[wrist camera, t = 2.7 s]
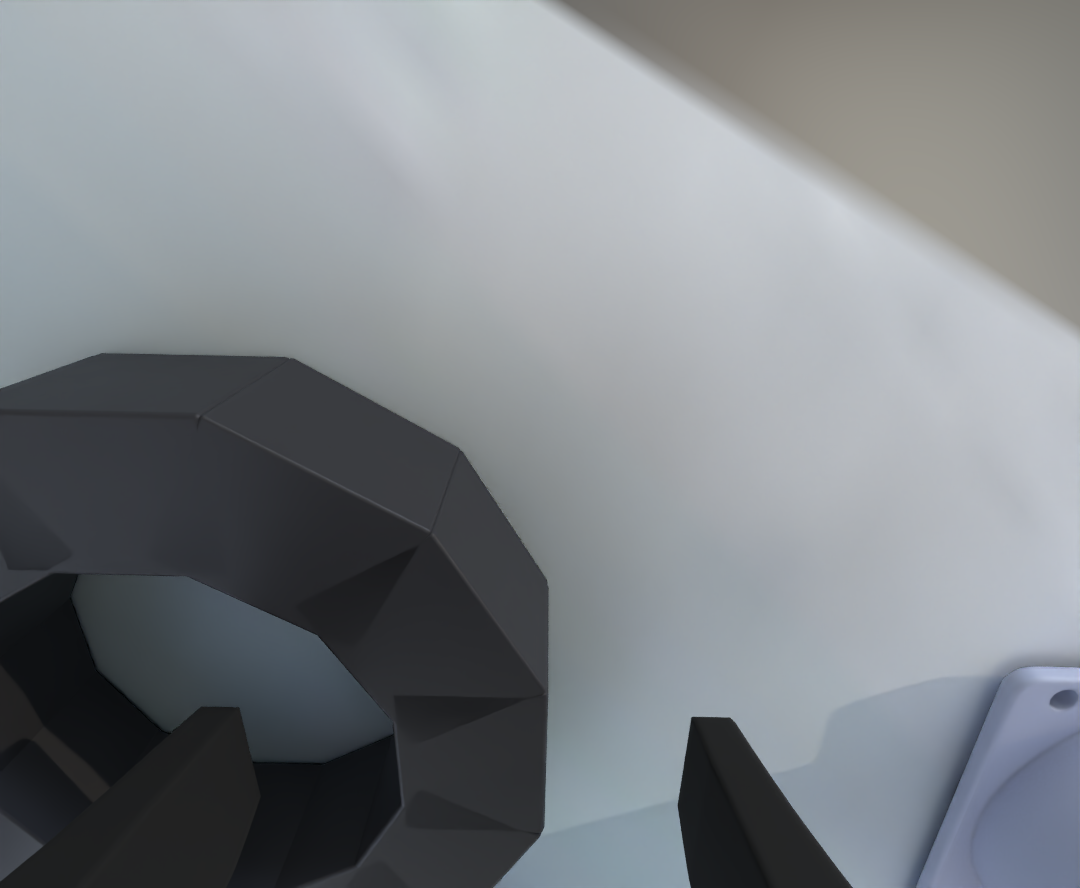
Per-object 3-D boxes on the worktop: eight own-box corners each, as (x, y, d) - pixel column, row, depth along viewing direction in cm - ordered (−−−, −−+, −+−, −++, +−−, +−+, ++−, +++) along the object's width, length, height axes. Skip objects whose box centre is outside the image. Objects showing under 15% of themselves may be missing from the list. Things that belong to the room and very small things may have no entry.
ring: (554, 361, 10) (555, 422, 7) (541, 839, 14) (540, 981, 12) (-160, 347, 10) (-413, 401, 7) (54, 826, 14) (-53, 964, 12)
